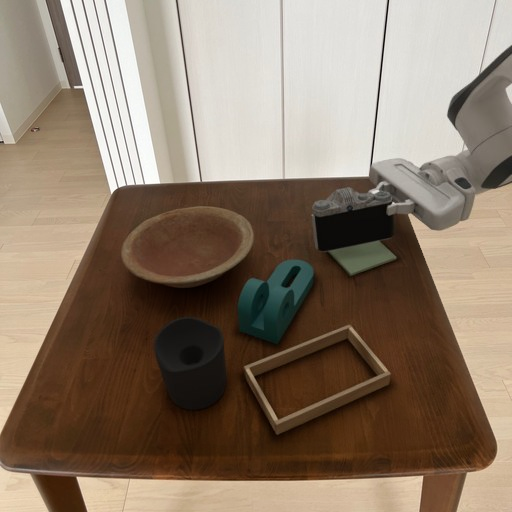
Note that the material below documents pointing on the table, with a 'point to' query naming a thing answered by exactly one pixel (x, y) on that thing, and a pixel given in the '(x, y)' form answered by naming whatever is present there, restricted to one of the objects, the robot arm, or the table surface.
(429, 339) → the table surface
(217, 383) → the pen holder
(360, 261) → the mat
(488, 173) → the robot arm
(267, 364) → the rectangular wooden frame
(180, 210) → the bowl
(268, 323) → the bracket
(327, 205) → the camera
